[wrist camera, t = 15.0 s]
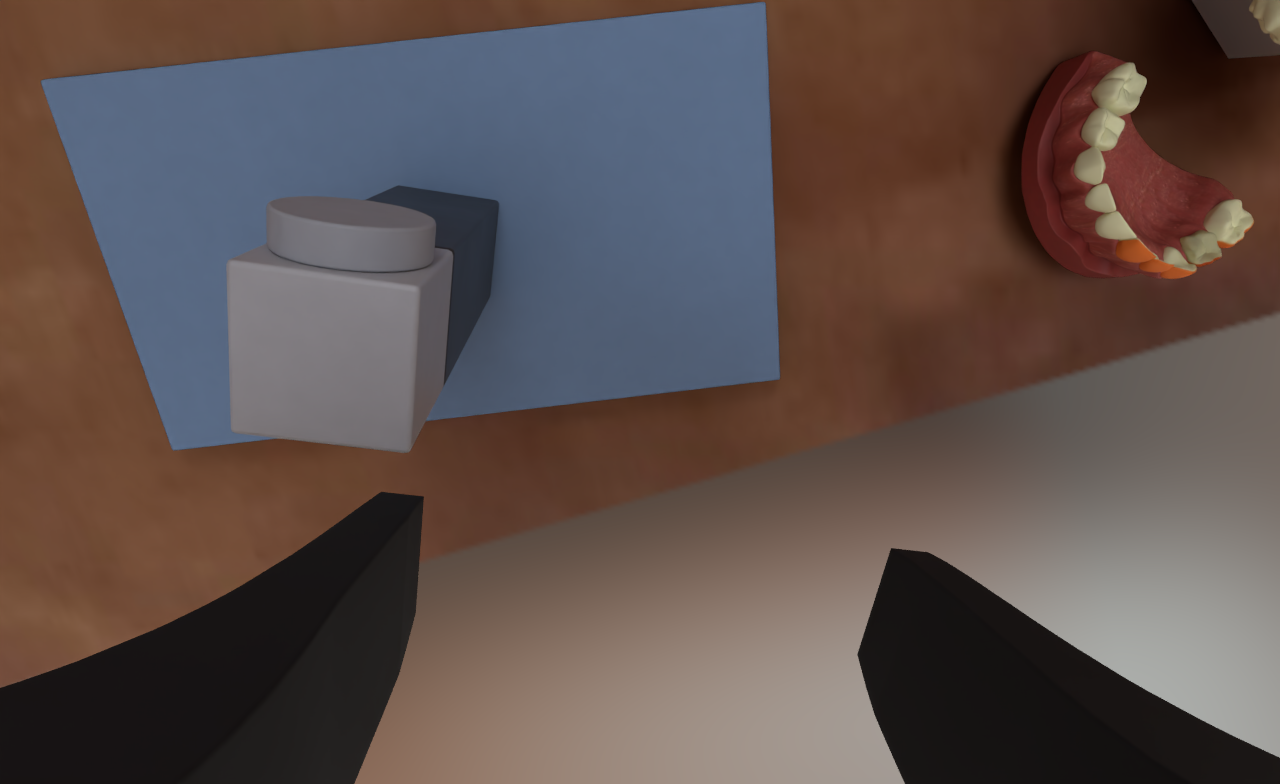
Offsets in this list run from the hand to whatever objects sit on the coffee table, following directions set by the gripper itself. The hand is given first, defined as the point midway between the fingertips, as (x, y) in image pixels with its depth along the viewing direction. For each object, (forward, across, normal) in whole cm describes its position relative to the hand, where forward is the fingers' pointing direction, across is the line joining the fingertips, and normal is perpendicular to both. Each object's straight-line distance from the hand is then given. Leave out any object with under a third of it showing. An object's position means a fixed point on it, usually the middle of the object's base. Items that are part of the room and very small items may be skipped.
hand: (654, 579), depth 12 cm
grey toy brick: (+9, +5, -3) cm, 11 cm away
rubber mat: (+9, +5, -3) cm, 11 cm away
